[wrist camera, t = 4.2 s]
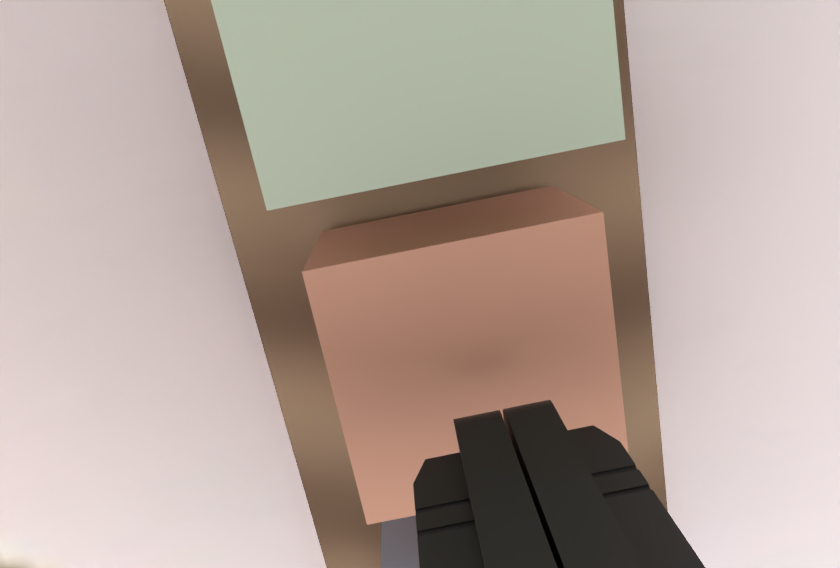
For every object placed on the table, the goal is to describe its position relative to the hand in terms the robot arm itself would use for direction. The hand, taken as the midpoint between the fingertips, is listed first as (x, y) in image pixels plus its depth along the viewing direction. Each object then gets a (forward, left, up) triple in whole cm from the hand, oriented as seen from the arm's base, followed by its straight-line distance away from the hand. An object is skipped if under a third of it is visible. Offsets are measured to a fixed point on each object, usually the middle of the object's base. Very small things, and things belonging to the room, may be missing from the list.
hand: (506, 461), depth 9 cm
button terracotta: (0, 0, -7) cm, 7 cm away
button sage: (-7, 0, -6) cm, 9 cm away
